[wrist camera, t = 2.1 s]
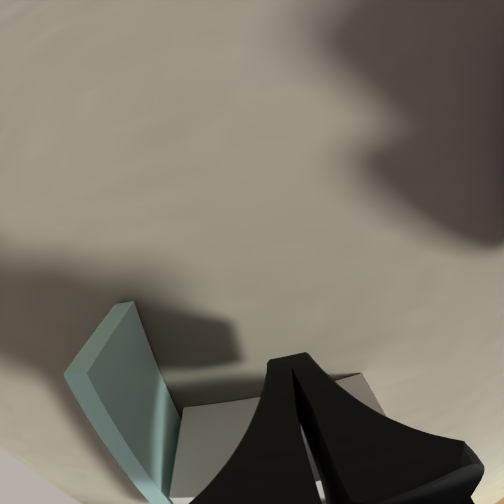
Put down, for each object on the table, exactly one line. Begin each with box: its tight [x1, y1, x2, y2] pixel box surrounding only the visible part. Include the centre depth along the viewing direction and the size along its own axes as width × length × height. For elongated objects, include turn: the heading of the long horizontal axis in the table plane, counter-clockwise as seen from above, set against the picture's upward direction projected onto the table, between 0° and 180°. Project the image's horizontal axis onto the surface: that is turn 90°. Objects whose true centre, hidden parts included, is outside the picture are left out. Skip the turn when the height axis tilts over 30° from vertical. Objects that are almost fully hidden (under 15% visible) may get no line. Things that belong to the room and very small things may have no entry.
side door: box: [63, 301, 181, 504], centre depth 11 cm, size 16×1×5 cm, turn 11°
